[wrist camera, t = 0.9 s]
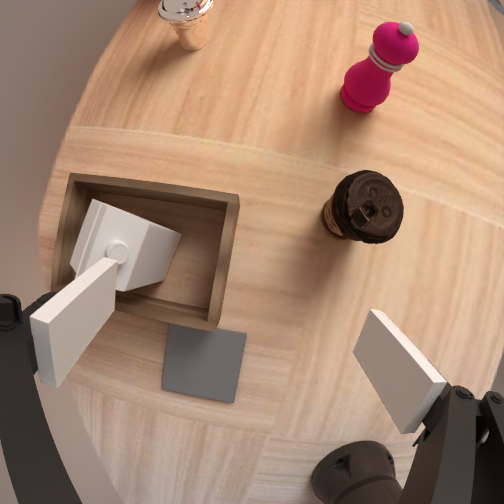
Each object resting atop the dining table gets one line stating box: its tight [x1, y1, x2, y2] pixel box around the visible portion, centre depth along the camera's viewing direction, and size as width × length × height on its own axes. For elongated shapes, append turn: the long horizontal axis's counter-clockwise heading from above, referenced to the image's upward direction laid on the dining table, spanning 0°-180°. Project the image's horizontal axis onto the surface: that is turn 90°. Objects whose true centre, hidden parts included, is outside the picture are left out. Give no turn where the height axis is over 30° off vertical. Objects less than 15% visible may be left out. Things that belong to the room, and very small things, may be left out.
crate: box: [50, 173, 240, 332], centre depth 39 cm, size 16×23×8 cm
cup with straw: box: [158, 0, 214, 51], centre depth 33 cm, size 8×9×20 cm
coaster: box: [162, 323, 246, 403], centre depth 42 cm, size 11×11×1 cm
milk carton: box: [70, 199, 182, 292], centre depth 33 cm, size 7×7×19 cm
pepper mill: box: [341, 22, 419, 113], centre depth 34 cm, size 7×7×20 cm
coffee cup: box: [321, 170, 404, 244], centre depth 37 cm, size 9×8×13 cm
